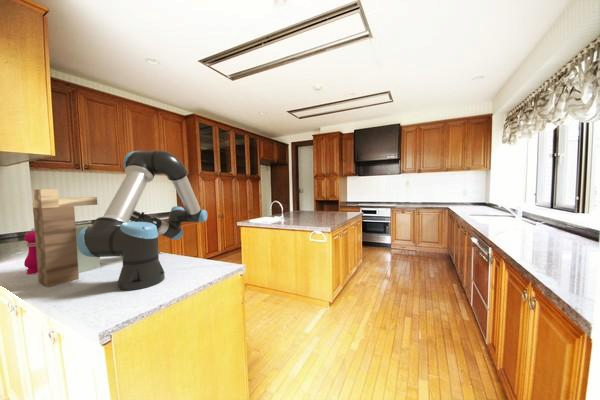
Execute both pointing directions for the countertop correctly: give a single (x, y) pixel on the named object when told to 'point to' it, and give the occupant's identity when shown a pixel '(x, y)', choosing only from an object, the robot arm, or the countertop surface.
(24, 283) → the countertop surface
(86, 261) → the sage box
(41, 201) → the tan tall block
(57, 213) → the walnut post
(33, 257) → the pepper mill
